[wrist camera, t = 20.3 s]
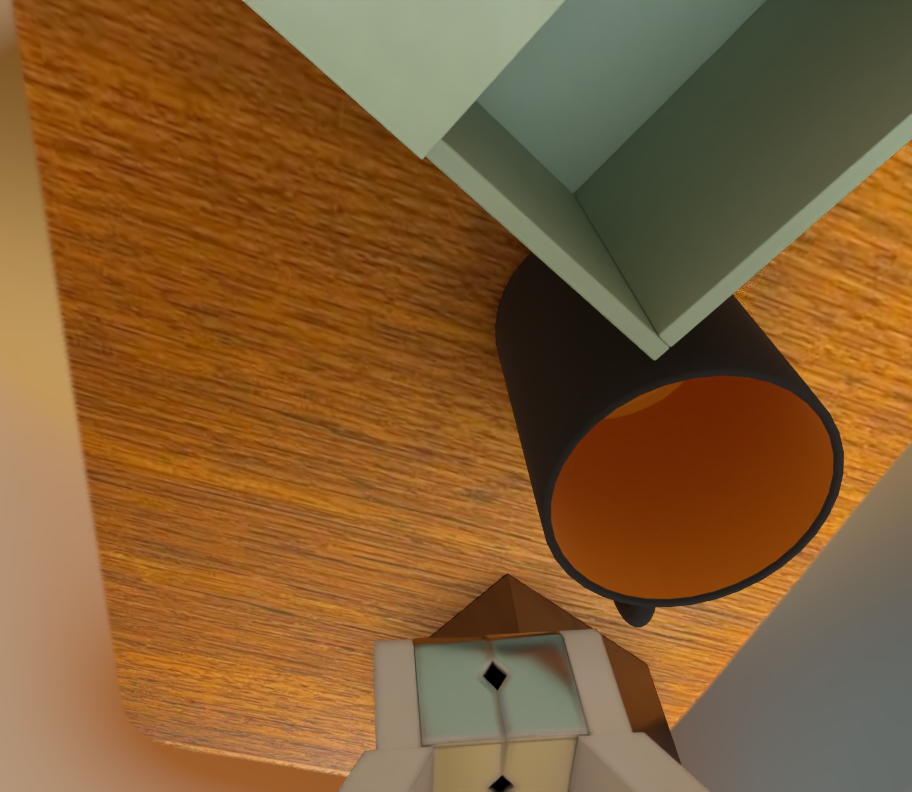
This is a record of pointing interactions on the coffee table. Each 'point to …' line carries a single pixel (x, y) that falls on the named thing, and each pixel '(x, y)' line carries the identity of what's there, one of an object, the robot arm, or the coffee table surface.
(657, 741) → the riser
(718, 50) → the green box
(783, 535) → the mug
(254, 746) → the coffee table surface
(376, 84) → the flap
